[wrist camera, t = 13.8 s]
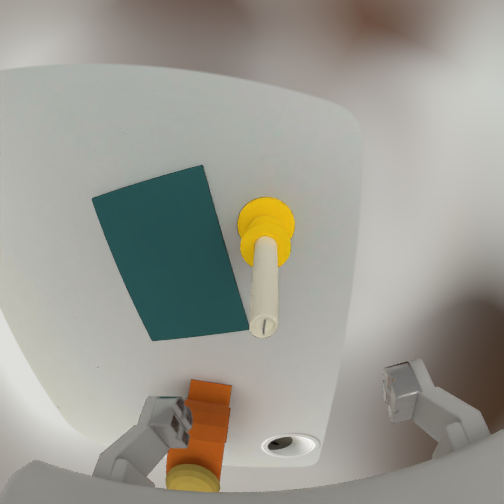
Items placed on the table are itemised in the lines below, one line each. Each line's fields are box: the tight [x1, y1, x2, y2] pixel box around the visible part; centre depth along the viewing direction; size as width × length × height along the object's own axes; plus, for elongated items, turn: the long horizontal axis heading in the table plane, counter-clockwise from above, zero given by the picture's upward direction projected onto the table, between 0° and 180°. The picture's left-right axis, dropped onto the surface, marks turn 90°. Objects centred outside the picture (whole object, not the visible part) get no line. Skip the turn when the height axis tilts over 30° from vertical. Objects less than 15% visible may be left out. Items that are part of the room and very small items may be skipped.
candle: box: [237, 197, 295, 338], centre depth 22 cm, size 5×5×16 cm
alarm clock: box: [166, 380, 232, 492], centre depth 32 cm, size 13×6×20 cm, turn 173°
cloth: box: [92, 165, 249, 341], centre depth 31 cm, size 18×12×1 cm, turn 13°
